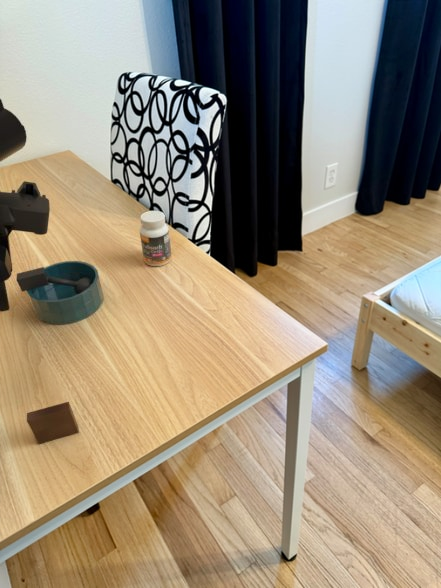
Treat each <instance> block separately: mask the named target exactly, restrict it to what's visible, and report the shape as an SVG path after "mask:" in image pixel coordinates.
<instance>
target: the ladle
mask: <svg viewBox="0 0 441 588" xmlns="http://www.w3.org/2000/svg"><path fill="white" fill-rule="evenodd" d="M44 268H45V267H44V266H42V267H38V268H34V269H30V270H27V271H22V272H18V273H16V280H15V281H16V283H17V285H18V287H19V288H20V291H21V292H27V290H31V289H35V288H38V287H42V286H46V285H49V283H54V284H60V285H67V286H73V287H74V289H75V292H76V294H80V293H81V292H83V291H84V290H86V289H88V288H89V287H90V286H91V284H92V283H93V281H92V280H90V279H88V278H82V279H80V280H78V281H72V280H66V279H59V278H53V277H48V276H47V274H46V272H45V269H44Z"/></svg>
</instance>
